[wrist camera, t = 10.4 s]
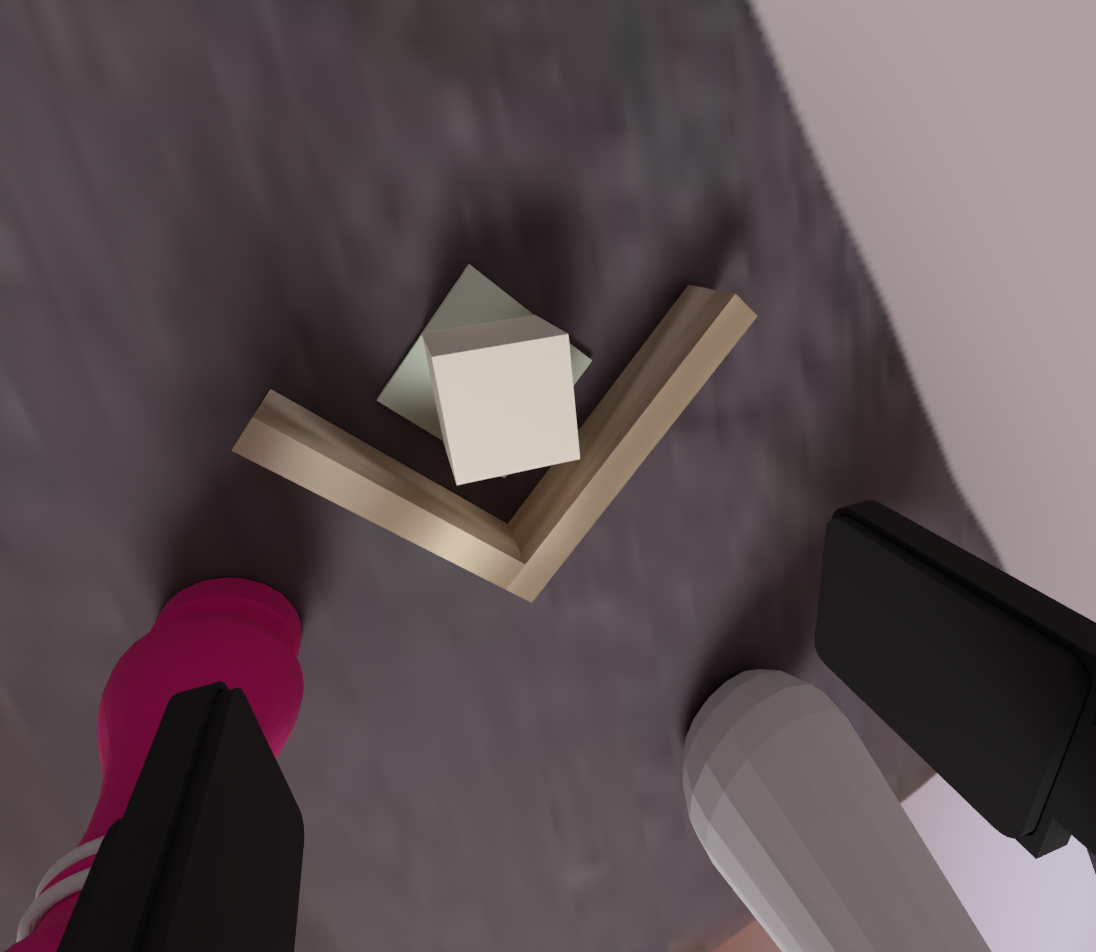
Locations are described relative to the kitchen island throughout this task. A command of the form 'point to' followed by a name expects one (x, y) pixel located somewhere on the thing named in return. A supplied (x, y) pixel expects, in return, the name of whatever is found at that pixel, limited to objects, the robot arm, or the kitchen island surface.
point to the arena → (549, 511)
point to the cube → (503, 396)
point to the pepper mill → (143, 694)
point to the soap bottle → (812, 825)
